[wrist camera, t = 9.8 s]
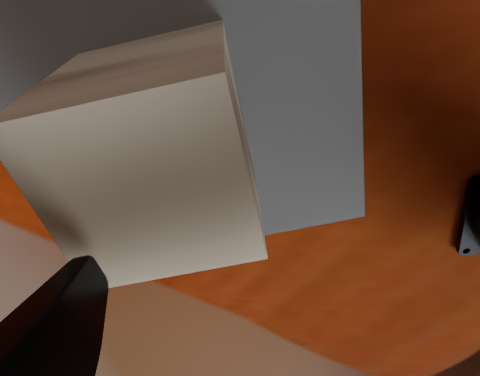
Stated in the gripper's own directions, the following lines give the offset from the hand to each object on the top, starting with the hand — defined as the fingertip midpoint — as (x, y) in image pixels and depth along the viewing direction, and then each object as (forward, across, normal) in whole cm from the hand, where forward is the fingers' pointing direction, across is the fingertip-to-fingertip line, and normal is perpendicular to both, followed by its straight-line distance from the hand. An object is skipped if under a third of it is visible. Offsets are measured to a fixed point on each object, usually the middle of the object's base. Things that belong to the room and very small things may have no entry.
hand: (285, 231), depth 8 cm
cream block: (+7, +3, -1) cm, 7 cm away
